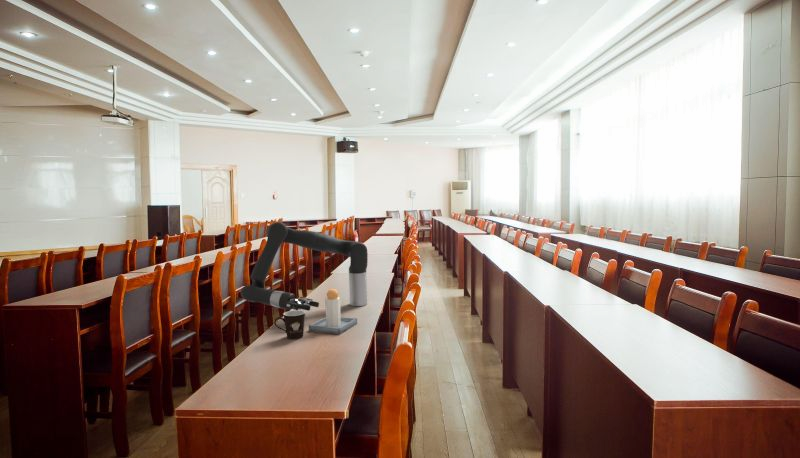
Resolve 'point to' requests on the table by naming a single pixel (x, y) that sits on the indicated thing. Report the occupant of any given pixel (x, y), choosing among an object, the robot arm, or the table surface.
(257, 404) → the table surface
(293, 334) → the coffee mug
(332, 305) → the white hexagonal prism
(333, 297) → the ball
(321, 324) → the tray
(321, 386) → the table surface
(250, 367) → the table surface
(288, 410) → the table surface
